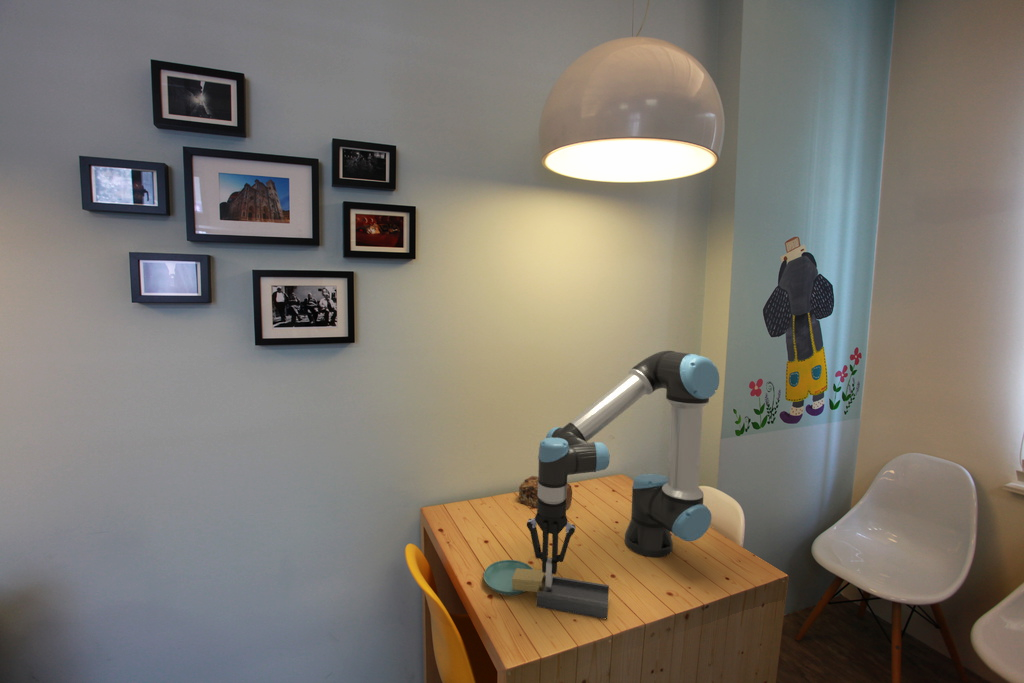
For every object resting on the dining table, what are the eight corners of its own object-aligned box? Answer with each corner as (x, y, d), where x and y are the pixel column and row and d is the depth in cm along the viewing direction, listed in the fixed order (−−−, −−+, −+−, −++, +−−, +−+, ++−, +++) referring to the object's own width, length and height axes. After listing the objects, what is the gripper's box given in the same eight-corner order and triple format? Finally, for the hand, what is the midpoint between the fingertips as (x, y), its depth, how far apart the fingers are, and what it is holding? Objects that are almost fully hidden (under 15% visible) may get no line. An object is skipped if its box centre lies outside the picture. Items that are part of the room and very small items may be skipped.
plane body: (608, 599, 122) (608, 585, 122) (607, 619, 115) (608, 604, 114) (541, 588, 126) (542, 574, 126) (536, 606, 119) (536, 592, 118)
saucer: (476, 574, 133) (476, 565, 132) (523, 564, 138) (523, 555, 138) (493, 606, 119) (493, 596, 119) (544, 593, 124) (545, 584, 124)
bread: (572, 506, 178) (573, 481, 177) (560, 516, 169) (561, 490, 168) (530, 494, 188) (531, 470, 187) (517, 503, 179) (517, 479, 178)
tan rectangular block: (545, 581, 124) (545, 570, 124) (542, 592, 120) (541, 581, 119) (517, 578, 127) (516, 568, 126) (512, 589, 122) (511, 578, 121)
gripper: (578, 495, 122) (575, 579, 124) (530, 489, 125) (527, 571, 127) (575, 507, 114) (572, 597, 116) (524, 501, 117) (522, 588, 120)
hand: (549, 583), depth 122 cm, fingers closed
